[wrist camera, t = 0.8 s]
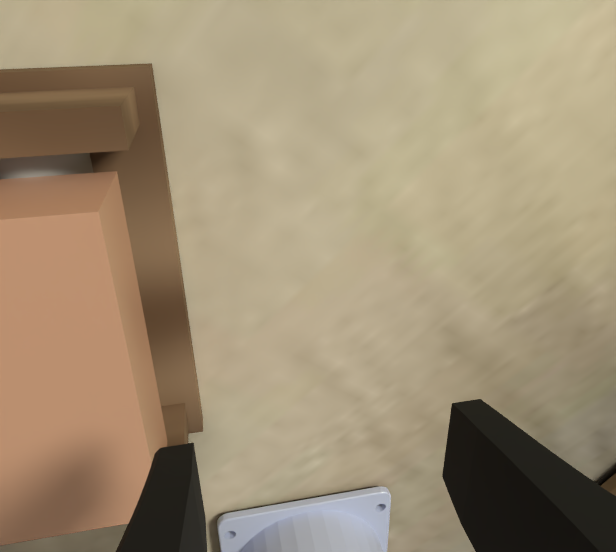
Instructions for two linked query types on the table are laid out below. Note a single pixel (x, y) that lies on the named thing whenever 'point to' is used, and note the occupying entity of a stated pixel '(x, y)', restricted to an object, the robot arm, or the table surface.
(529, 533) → the robot arm
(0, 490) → the tile
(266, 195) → the table surface
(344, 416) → the table surface
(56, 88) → the track
